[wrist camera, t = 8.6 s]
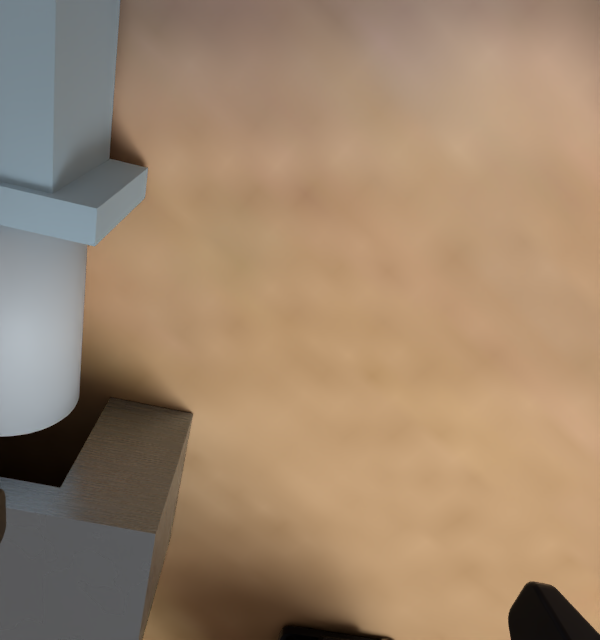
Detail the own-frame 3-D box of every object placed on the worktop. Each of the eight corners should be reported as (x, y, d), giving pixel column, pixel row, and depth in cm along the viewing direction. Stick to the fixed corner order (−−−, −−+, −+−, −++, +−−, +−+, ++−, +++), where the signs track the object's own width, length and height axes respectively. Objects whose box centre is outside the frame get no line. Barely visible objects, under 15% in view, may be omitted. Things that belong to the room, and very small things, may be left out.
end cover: (126, 376, 21) (82, 458, 17) (-42, 341, 20) (-131, 418, 16) (180, -148, 13) (123, -232, 9) (-86, -230, 13) (-275, -357, 8)
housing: (169, 540, 25) (133, 673, 20) (-89, 496, 24) (-200, 623, 19) (193, 413, 22) (155, 533, 16) (-111, 353, 21) (-256, 461, 15)
